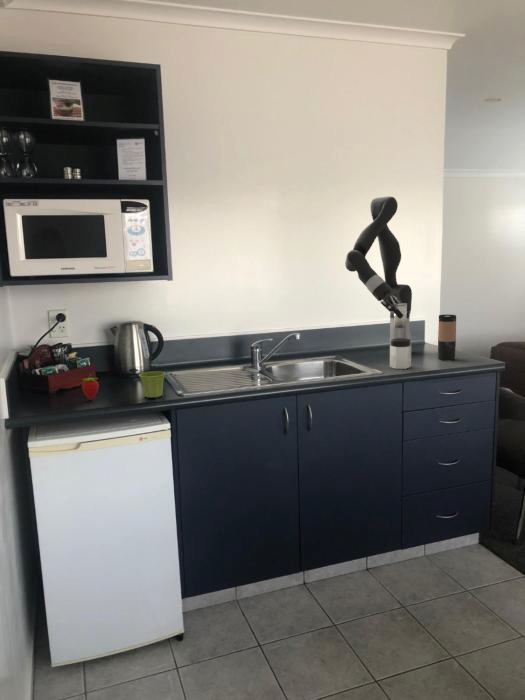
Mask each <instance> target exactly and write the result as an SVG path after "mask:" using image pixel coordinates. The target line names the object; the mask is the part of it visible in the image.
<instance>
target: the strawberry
mask: <svg viewBox="0 0 525 700" xmlns="http://www.w3.org/2000/svg"><path fill="white" fill-rule="evenodd" d="M91 375H92V373H90V375H89V376H88V378H83V379H82V383H81V390H82V392H83V394H84V395H85V397H87V399H88V400H89V399H93V400H94V399H95V397H96V395H97V393H98V391H99V387H100V384H99V382H98V381H97V380H98V378H97V377H90V376H91Z"/></svg>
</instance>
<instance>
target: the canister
mask: <svg viewBox="0 0 525 700" xmlns="http://www.w3.org/2000/svg"><path fill="white" fill-rule="evenodd" d="M395 306H396V307H397V308H398V309H399V310H400V312H401V313H402V314H403V315H404V316H403V317H402V318H401V319H399V318H398V317H397V316H396V314H395V313H394V328H406V327H407V304H406V303H396V304H395Z"/></svg>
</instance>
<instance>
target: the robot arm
mask: <svg viewBox="0 0 525 700" xmlns="http://www.w3.org/2000/svg"><path fill="white" fill-rule="evenodd" d="M369 208H370V213H371V214H370V215H371V217H372V222H370V224H368V225H367V226H366V227H365V228H363V230H362V231H361V232H360V234H359V235H358V237H357V239H356V240H355V243H354V245H353V249H352V250H349V251H348V253H347V254H346V259H345V265H344V266H345V268H346V270H347V271H349V272H356V273H357V277H358V279H359V280H360V282H361V283H362V284H363V285H364V286H365V288H367V290H368V291H369V292H370V293H371V294H372V296H373V297H374V299H376V300H377V301H378V302H380V304H381V305H382V306H383V307H384V308H385V309H387V310H388V312H389V313H390V314H389V347H390V346H391V339H396V338H405V339H410V345H411V346H412V333H411V332H410V323H411V322H410V319H411V317H410V316H411V310H412V299H413V291H412V287H411V286H410V285H408V284H399V283H398V282H397V271H398V269H399V266H400V264H401V260H402V252H401V251H402V250H401V246H400V242H399V240H398V239H397V237H396V236H395V235H394V233H393V232H392V231H391V230H390V228H389V226H388V223H389V222H390V221H391V220H392V218H393V217H394V216H395V214H396V213H397V211H398V208H399V207H398V201H397V199H396V198H395V197H394V196H389V195H388V196H380V197H375V198H373V199H372V200H371V202H370V207H369ZM376 239H377V241H378V247H379V251H380V252H379V253H380V257H381V263H382V268H383V273H384V274H383V275H384V279H383V277H381V276H380V275H379V274H378V273H377V272H376V271H375V270H374V269H373V268H372V267H371V265H370V263H369V261H368V260H367V259H366V256H367V254H368V253H369V251H370V249H371V248H372V245H373V244H374V243H375V241H376ZM396 303H406V304H407V327H406V328H394V313H395V314H396V316H397V317H398V318H399V319H401V318H402V317H403V316H404V315H403V314H402V313H401V312H400V310H399V309H398V308H397V307H396V306H395V304H396Z"/></svg>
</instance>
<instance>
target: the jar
mask: <svg viewBox="0 0 525 700" xmlns="http://www.w3.org/2000/svg"><path fill="white" fill-rule="evenodd" d="M409 367H410V368H411V367H412V344H411V345H410V339H405V338H396V339H391V346H390V345H389V368H392V369H396V370H407V368H408V369H409Z"/></svg>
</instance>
